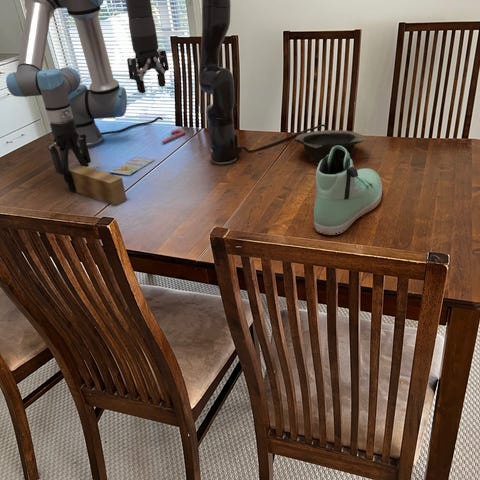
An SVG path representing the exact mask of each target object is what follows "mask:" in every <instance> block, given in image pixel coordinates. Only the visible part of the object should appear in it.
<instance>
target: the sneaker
mask: <svg viewBox="0 0 480 480" xmlns="http://www.w3.org/2000/svg"><path fill="white" fill-rule="evenodd" d="M317 165H318V166H317V168H316V172H315V201H314V207H313V225H314V229H315V231H316V232H318V233H320V234H323V235H326V236H327V235H328V236H336V235H339V234H342V233H344V232H345V231H347V230H348V229H349V228H350V227H351V226H352V225H353V224H354V222H356V221H357V220H358V219H359V218H360V217H362V216H363V215H365V214H367V213H370V212H372V210H374V209H375V208H377V207H378V205H380V203H381V200H382V196H383V184H382V183H383V182H382V179H381V176H380V175H379V173H378V172H377V171H376V170H374V169H372V168H367V167H365V168H358V169H357V168H355V167H354V161H353V159H352V158H350V156H349V153H348V152H347V150H346V149H345V148H344V147H342V146H334V147H333V148H332V149H331V152H330V154H329V155H327V156H326V157H325V158H324V159H322V160H321V161H320V163H319V164H317ZM343 230H344V231H343ZM319 231H320V232H319ZM322 232H323V233H322ZM339 232H340V233H339ZM326 233H327V234H326ZM328 233H329V234H328ZM335 233H337V234H335Z"/></svg>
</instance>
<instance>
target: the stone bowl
mask: <svg viewBox="0 0 480 480" xmlns="http://www.w3.org/2000/svg"><path fill="white" fill-rule="evenodd" d="M295 137H296V138H295V139H294V142H297V143H299V144H301V145H303V150H304V153H305V154H306V155H307V157H309V158H311V159H312V161H311V162H312V163H313V164H315V165H319V163H320V161H321V160H322V159H324V158H325V157H326V156H327V155H329V154H330V152H331V149H332V148H333V147H334V146H342V147H344V148H345V149H346V150H347V152H348V153H349V156H350V159H352V158H353V156H354V152H355V146H356V145H357V144H360V143H362V142H363V141H364V142H365V140H366V139H367V137H365V136H364V135H363V134H362V133H358V132H355V131H353V130H352V131H351V130H338V129H336V130H333V129H323V130H311V131H307V132H304V133H301V134H299V135H296V136H295Z"/></svg>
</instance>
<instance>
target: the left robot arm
mask: <svg viewBox="0 0 480 480" xmlns="http://www.w3.org/2000/svg"><path fill="white" fill-rule="evenodd" d="M103 4H104V0H24V8H25V10H26V13H25V19H24V25H23V32H22V37H21V43H20V49H19V54H18V55H19V56H18V61H17V67H16V71H14V72H10V73H8V74H7V75H6V78H5V79H6V80H5V84H6V88H7V90H8V92H9V94H11V95H12V96H13V97H18V98H19V97H21V98H22V97H24V98H27V97H36V96H37V97H38V96H39V97H40V96H41V98H42V102H43V104H44V108H45V112H46V115H47V119H48V122H49V126H50V130H51V133H52V136H53V143H51V144H48V145H47V146H46V147H47V150H48V151H49V152H50V155H51V159H52V162H53V166H54V169H55V172H56V174H58V175H62V177H63V179H64V183H65V182H66V183H68V186H69V189H68V190H69V191H70V192H73V193H74V192H75V191H76V188H75V185H74V181H73V178H72V174H71V173H69V165H70V164H69V154H70V150H72V153H73V155H74V156H75V158H76V160H77V162H78V165H82V166H85V167H88V168H89V164H90V163H91V162H92V160H91V155H90V153H89V149H92V148H94V147H97V146H99V145H102V143H104V136H105V135H112V134H118V133H122V132H124V131H127V130H130V129H132V128H135V127H140V126H145V125H150V124H154V123H156V122H157V121H158V120H160V121H164V118H163V117H161V116H157V117H156V118H154V119H153V120H150V121H144V122H139V123H134V124H131V125H129V126H126V127H124V128H122V129H118V130H110V131H104V132H103V131H102V132H101V130H100V129H99V127H98V125H97V124H96V121H95V120H96V119H116V118H122V117H124V116H125V115H126V112H127V107H128V96H127V90H126V88H125V87H123V86H120V83H119V80H117V79H116V78H114V74H113V69H112V66H111V63H110V58H109V54H108V50H107V47H106V42H105V37H104V34H103V30H102V26H101V22H100V18H99V14H100V12H101V10H102V8H101V6H102V5H103ZM58 9H66V11H67V14H68V16H70V17H71V18H73V20H74V23H75V26H76V27H75V28H76V30H77V34H78V38H79V41H80V45H81V49H82V52H83V55H84V59H85V63H86V66H87V70H88V74H89V77H90V81H91V83H90V85H89V88H88V86H87V85H86V84H81V76H80V74H79V72H78V71H77V70H76V69H74V68H73V67H70V66H66V67H62V68H46V69H43V66H44V61H45V54H46V49H47V48H46V47H47V43H48V42H47V41H48V35H49V30H50V29H49V28H50V22H51V18H53V16H54V15H55V11H56V10H58ZM58 150H59V151H58ZM66 183H65V184H66ZM75 193H76V192H75Z"/></svg>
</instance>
